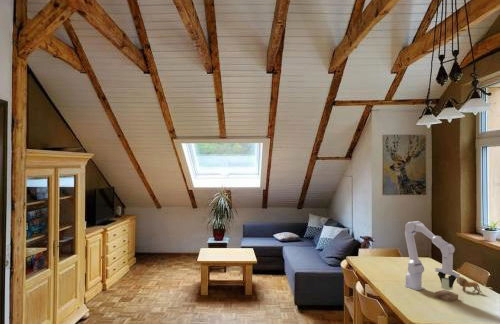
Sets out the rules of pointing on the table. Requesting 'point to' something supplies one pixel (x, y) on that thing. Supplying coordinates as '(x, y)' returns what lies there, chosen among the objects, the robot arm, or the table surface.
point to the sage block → (445, 284)
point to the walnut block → (446, 295)
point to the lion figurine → (467, 284)
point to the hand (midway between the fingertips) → (446, 286)
